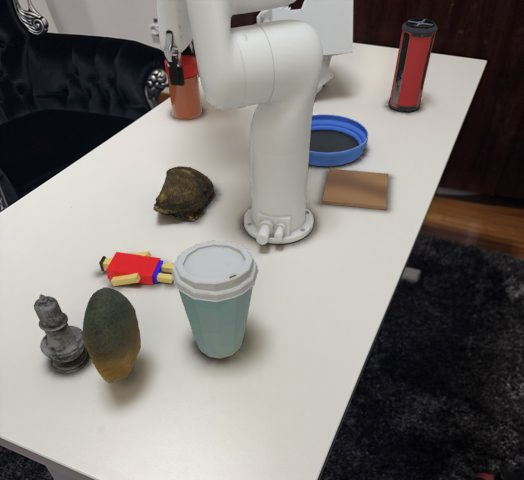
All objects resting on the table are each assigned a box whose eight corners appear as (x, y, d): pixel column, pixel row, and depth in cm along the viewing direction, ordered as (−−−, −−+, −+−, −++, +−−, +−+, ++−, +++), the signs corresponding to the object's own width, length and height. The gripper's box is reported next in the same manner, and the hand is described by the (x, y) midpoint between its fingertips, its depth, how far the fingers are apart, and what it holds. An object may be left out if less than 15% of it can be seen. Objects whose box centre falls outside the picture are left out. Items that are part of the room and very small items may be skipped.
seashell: (181, 177, 100) (184, 145, 94) (222, 194, 99) (227, 163, 94) (141, 219, 90) (142, 187, 84) (186, 239, 89) (190, 207, 84)
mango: (117, 349, 70) (88, 266, 58) (159, 354, 69) (137, 271, 58) (90, 405, 63) (52, 324, 52) (135, 411, 63) (106, 330, 51)
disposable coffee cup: (171, 335, 71) (153, 251, 60) (233, 305, 75) (227, 221, 64) (208, 382, 66) (196, 299, 54) (274, 347, 70) (275, 263, 58)
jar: (197, 120, 118) (192, 70, 110) (168, 118, 119) (161, 68, 111) (205, 108, 123) (200, 59, 114) (177, 105, 124) (171, 57, 115)
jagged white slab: (271, 104, 117) (263, -26, 105) (257, 102, 131) (249, -14, 118) (352, 97, 120) (353, -31, 108) (330, 95, 134) (329, -18, 122)
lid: (193, 79, 111) (192, 67, 109) (161, 77, 112) (159, 65, 110) (202, 67, 116) (201, 55, 114) (172, 65, 117) (170, 53, 115)
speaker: (413, 115, 119) (431, 29, 105) (383, 108, 121) (397, 24, 108) (424, 103, 123) (443, 20, 109) (395, 97, 126) (410, 14, 112)
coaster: (385, 210, 92) (386, 206, 92) (321, 203, 94) (322, 200, 93) (387, 177, 100) (388, 173, 99) (328, 171, 102) (328, 168, 101)
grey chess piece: (88, 373, 67) (60, 309, 58) (44, 376, 67) (9, 312, 58) (95, 341, 71) (69, 277, 62) (53, 344, 71) (22, 279, 62)
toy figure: (179, 255, 81) (108, 245, 81) (167, 282, 76) (92, 271, 77) (180, 266, 83) (111, 257, 83) (169, 294, 78) (96, 283, 79)
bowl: (328, 122, 117) (329, 107, 114) (383, 151, 107) (386, 135, 104) (266, 144, 110) (266, 128, 107) (319, 178, 100) (321, 161, 97)
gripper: (167, -26, 108) (178, 63, 121) (139, -4, 96) (155, 91, 110) (201, -24, 107) (208, 65, 120) (176, -2, 95) (187, 94, 109)
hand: (183, 77), depth 115 cm, fingers closed on lid, 7 cm apart
